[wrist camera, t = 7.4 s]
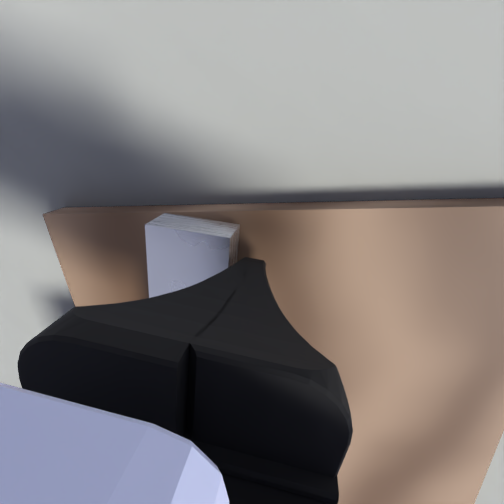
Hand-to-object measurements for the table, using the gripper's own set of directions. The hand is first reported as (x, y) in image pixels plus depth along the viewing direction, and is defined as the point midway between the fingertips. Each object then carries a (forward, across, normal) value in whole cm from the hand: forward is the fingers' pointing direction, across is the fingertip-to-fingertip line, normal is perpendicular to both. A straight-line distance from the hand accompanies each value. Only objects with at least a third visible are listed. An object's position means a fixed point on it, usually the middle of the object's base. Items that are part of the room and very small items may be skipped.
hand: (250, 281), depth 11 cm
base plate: (+2, -2, +7) cm, 8 cm away
